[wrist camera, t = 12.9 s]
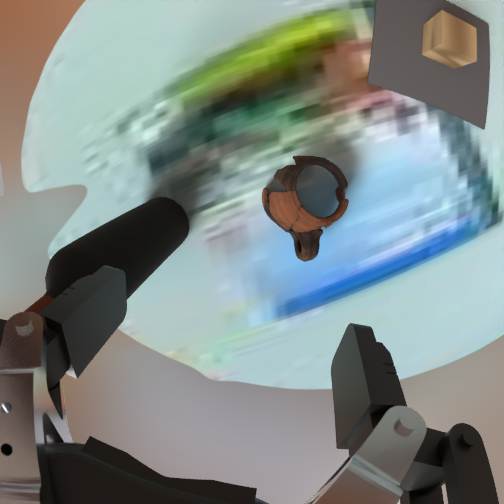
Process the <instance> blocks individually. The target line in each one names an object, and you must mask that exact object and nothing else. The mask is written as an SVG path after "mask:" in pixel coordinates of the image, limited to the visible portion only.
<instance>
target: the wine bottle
mask: <svg viewBox="0 0 504 504" xmlns="http://www.w3.org/2000/svg"><path fill="white" fill-rule="evenodd" d="M188 230H189V225H188V219H187V216H186V213H185V211H184V210H183V209H182V207H181V206H180V205H179V204H178V203H176V202H175V201H174V200H171V199H169V198H164V197H158V198H155V199H152V200H150V201H148V202H146V203H144V204H142V205H140V206H138V207H136V208H134V209H132V210H130V211H128V212H126V213H124V214H122V215H120V216H119V217H117V218H115V219H113V220H111V221H109V222H107V223H105V224H104V225H102V226H100V227H98V228H96V229H95V230H93V231H91V232H89V233H87V234H86V235H84V236H82V237H80V238H79V239H77V240H75V241H73V242H72V243H70V244H68V245H67V246H65V247H63V248H62V249H60V250H59V251H58V252H57V253H56V254H55V255H54V256H53V257H52V259H51V260H50V262H49V265H48V269H47V273H46V278H45V279H46V290H47V292H46V293H45V295H44V296H43V297H41V298H40V299H39V300H38V301H36V302H35V303H34V304H33V305H31V306H30V307H29V308H28V309H27V310H25V311H24V312H34V313H39V312H40V311H41V310H42V309H43V308H44V307H46V306H47V305H48V304H49V303H50V302H51V301H53V300H54V299H55V298H56V297H57V296H59V295H60V294H62V293H63V291H65V290H66V289H67V288H70V286H71V285H72V284H73V283H75V282H76V281H77V280H78V279H81V278H83V277H86V276H88V275H93V274H94V273H95V272H96V271H98V270H99V269H100V268H101V267H103V266H105V265H106V266H110V267H113V268H117V269H120V270H123V271H124V272H125V276H126V299H128V298H129V297H130V296H131V295H132V294H133V293H134V292H135V291H136V290H137V289H138V287H139V286H140V285H141V284H142V283H143V282H144V281H145V280H146V279H147V278H148V277H149V276H150V275H151V274H152V273H153V272H154V271H155V270H156V269H157V268H158V267H159V266H160V265H161V264H162V263H163V262H164V261H165V260H166V259H167V258H168V257H169V256H170V255H171V254H172V253H173V252H174V251H175V250H176V249H177V248H178V247H179V246H180V245H181V244H182V243H183V241H184V240H185V238H186V237H187V234H188Z"/></svg>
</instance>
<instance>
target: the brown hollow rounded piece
mask: <svg viewBox="0 0 504 504" xmlns="http://www.w3.org/2000/svg"><path fill="white" fill-rule="evenodd" d="M293 159H294V160H295V163H296V165H287V166H285V167H284V168H282V169H279V170H277V172H276V173H275V175H274V179H275V180H279V182H280V183H281V184H282V185H283V186H284V188H285V189H286V191H281V192H275V191H272V192H271V193H270V195H269V201H268V188H264V189H263V192H262V203H263V207H264V210H265V212H266V213H267V215H268V216H269V218H270V219H271V220H272V221H274V222H275V223H276V224H277V225H278V226H279V227H281V228H282V229H283V230H285V231H286V232H289V233H290V234H291V236H292V237H293V240H294V247H295V252H296V256H297V257H298V259H300V260H302V261H304V262H305V261H309V260H313V259H314V258H315V257H316V256H317V254H318V251H319V239H320V236H321V235H322V233H323V230H322V229H320V228H321V227H322V226H324V227H325V228H327V227H329V226H330V225H331V224H332V223H333V222H335V221H337V220H338V219H339V218H341V217H342V215H343V214H344V213H345V211H346V209H347V206H348V201H349V200H348V199H345V191H344V189H346V187H347V185H348V183H347V180H346V178H345V176H344V175H343V173H342V171H341V170H340V169H339V168H338V167H337V166H336V165H335V164H334V163H332V162H330V161H329V160H327V159H325V158H320V157H314V156H293ZM310 165H319V166H322V167H324V168H326V169H327V170H328V171H330V172H331V173H332V174H333V176H334V177H335V179H336V180H337V182H338V185H339V186H338V188H337V189H336V196H337V200H338V202H339V205H338V207H337V209H336V211H335V212H334V213H333V214H332V215H330V216H327V217H323V218H322V217H317V216H314V215H312V214H310V213H309V212H308V211H307V210H306V209H305V208H304V207H303V206H302V204H301V202H300V200H299V198H298V195H297V191H296V184H297V179H298V176H299V174H300V173H301V171H302V170H303V169H304V168H305V167H307V166H310ZM291 228H292V229H291Z"/></svg>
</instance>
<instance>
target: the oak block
mask: <svg viewBox="0 0 504 504" xmlns="http://www.w3.org/2000/svg"><path fill="white" fill-rule="evenodd" d="M422 55H424V56H426V57H429V58H431V59H433V60H436V61H438V62H440V63H442V64H444V65H447V66H449V67H451V68H453V69H456V68H458V67H461V66H464V65H467V64H470V63H473V62H476V61H477V33H476V28H475V27H473V26H472V25H470V24H468V23H466V22H464V21H463V20H461V19H459V18H457V17H455V16H453V15H451V14H449V13H447V12H445V11H443V10H441V11H440V12H439V13H437V14H436V15H435V16H434V17H432V18H431V19H430V20H429V21H427V22H426V23H425V24H424V28H423V48H422Z"/></svg>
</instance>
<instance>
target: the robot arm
mask: <svg viewBox="0 0 504 504" xmlns="http://www.w3.org/2000/svg"><path fill="white" fill-rule="evenodd" d="M126 311H127V299H126V276H125V272H124V271H123V270H120V269H117V268H113V267H110V266H106V265H105V266H103V267H101V268H100V269H99V270H98V271H96V272H95V273H94V274H93V275H88V276H86V277H83V278H81V279H78V280H77V281H76V282H75V283H73V284H72V285H71V286H70V288H67V289H66V290H65V291H63V293H62V294H60V295H59V296H57V297H56V298H55V299H54V300H53V301H51V302H50V303H49V304H48V305H47V306H46V307H44V308H43V309H42V310H41V311H40V312H39V313H34V312H20V313H17V314H15V315H13V316H12V317H11V318H10V319H9V320H8V321H7V320H2V319H0V504H268V503H266V502H264V501H262V500H260V499H257V498H255V497H256V490H257V489H256V488H250V487H244V486H239V485H233V484H229V483H224V482H219V481H215V480H198V479H196V480H195V479H182V478H170V477H165V476H162V475H160V474H159V473H157V472H155V471H154V470H152V469H151V468H149V467H147V466H146V465H144V464H143V463H141V462H139V461H138V460H137V459H135V458H134V457H132V456H131V455H129V454H128V453H126V452H124V451H122V450H119V449H117V448H114V447H112V446H110V445H107V444H106V443H103V442H101V441H99V440H97V439H95V438H93V437H91V436H90V437H89V439H88V440H87V442H86V444H80V443H73V441H72V438H71V435H70V432H69V429H68V424H67V417H66V409H65V400H64V389H63V381H62V379H61V378H62V377H63V376H64V375H65V373H66V374H68V375H70V376H72V377H74V378H76V379H77V378H78V377H79V376H80V374H81V373H82V372H83V370H84V369H85V368H86V367H87V365H88V364H89V363H90V362H91V360H92V359H93V358H94V356H95V355H96V354H97V353H98V351H99V350H100V349H101V348H102V346H103V345H104V344H105V343H106V341H107V340H108V339H109V338H110V336H111V335H112V334H113V333H114V332H115V330H116V329H117V328H118V327H119V325H120V324H121V323H122V322H123V320H124V318H125V315H126ZM393 365H394V363H393V360H392V357H391V354H390V352H389V351H388V350H387V349H386V347H385V346H384V345H383V344H382V343H380V342H376V339H375V336H374V333H373V330H372V328H371V327H370V326H364V325H358V324H353V323H350V324H349V325H348V327H347V328H346V331H345V333H344V335H343V338H342V340H341V342H340V344H339V347H338V349H337V351H336V353H335V355H334V358H333V361H332V366H331V378H332V389H333V400H334V413H335V428H336V443H337V448H338V449H349V457H348V458H347V459H346V460H345V461H344V462H343V464H342V465H341V466H340V467H339V468H338V469H337V470H336V472H335V473H334V474H333V475H332V476H331V477H330V479H328V481H327V482H326V483H325V484H324V485H323V486H322V487H321V488H320V489H319V490H318V491H317V492H316V493H315V494H314V495H313V496H312V497H311V498H310V499H309V500H308V501H307V502H306V503H305V504H397V503H398V501H399V499H400V504H444V501H443V494H442V488H441V486H442V485H443V484H445V485H446V491H447V497H448V504H499V502H498V497H497V492H496V488H495V483H494V479H493V476H492V471H491V468H490V464H489V460H488V457H487V454H486V450H485V447H484V444H483V441H482V438H481V436H480V434H479V433H478V431H477V430H476V429H475V428H474V427H472V426H470V425H468V424H465V423H460V424H456V425H454V426H453V427H452V428H451V429H450V431H448V432H447V433H445V432H441V431H437V430H434V429H430V428H427V427H426V423H425V421H424V419H423V418H422V417H421V415H420V414H419V413H418V412H417V411H415V410H414V409H412V408H409V407H407V405H406V401H405V398H404V394H403V391H402V388H401V385H400V382H399V378H398V375H396V374H397V372H396V369H395V366H393Z"/></svg>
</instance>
